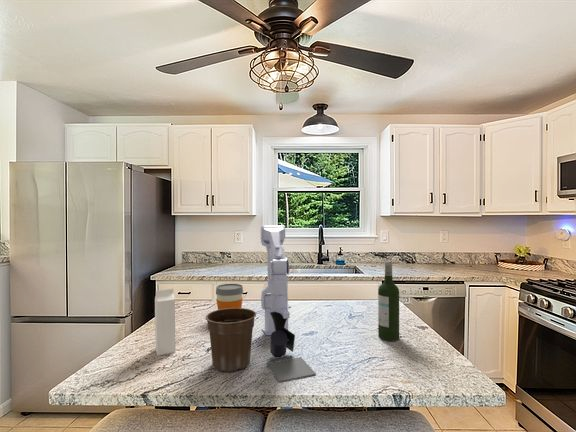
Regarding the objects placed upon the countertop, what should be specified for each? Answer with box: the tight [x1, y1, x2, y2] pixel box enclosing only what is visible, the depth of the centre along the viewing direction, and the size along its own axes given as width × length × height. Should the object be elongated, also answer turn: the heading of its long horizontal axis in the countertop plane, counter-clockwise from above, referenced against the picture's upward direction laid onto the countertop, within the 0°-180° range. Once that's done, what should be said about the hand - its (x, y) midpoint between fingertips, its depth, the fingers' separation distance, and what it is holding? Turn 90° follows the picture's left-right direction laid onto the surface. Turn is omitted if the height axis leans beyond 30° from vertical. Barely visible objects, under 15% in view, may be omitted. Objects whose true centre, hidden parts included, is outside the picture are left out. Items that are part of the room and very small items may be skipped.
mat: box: [266, 356, 317, 383], centre depth 102 cm, size 12×12×1 cm
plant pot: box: [205, 307, 257, 373], centre depth 106 cm, size 16×16×16 cm
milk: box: [154, 288, 176, 357], centre depth 116 cm, size 6×6×22 cm
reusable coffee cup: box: [215, 283, 244, 310], centre depth 151 cm, size 12×13×15 cm
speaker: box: [269, 326, 296, 359], centre depth 110 cm, size 8×6×10 cm
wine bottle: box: [377, 260, 400, 342], centre depth 127 cm, size 8×8×30 cm
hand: (279, 333), depth 111 cm, fingers closed
